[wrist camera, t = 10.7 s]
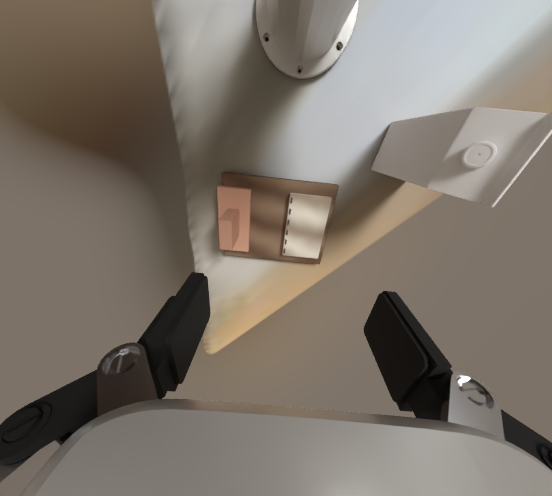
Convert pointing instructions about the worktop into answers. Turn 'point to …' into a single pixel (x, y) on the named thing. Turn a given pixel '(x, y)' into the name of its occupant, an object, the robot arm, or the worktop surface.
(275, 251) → the board
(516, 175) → the milk carton
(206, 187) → the worktop surface
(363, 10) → the worktop surface
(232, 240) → the stub
